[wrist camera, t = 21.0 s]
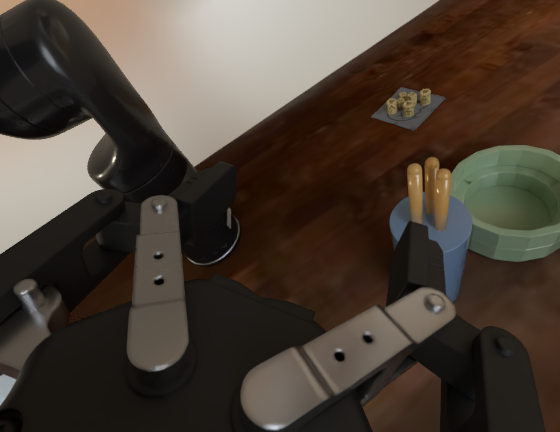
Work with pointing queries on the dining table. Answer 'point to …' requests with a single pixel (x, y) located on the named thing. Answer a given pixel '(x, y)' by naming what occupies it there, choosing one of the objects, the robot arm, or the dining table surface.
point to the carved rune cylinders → (408, 107)
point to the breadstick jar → (436, 218)
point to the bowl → (511, 201)
